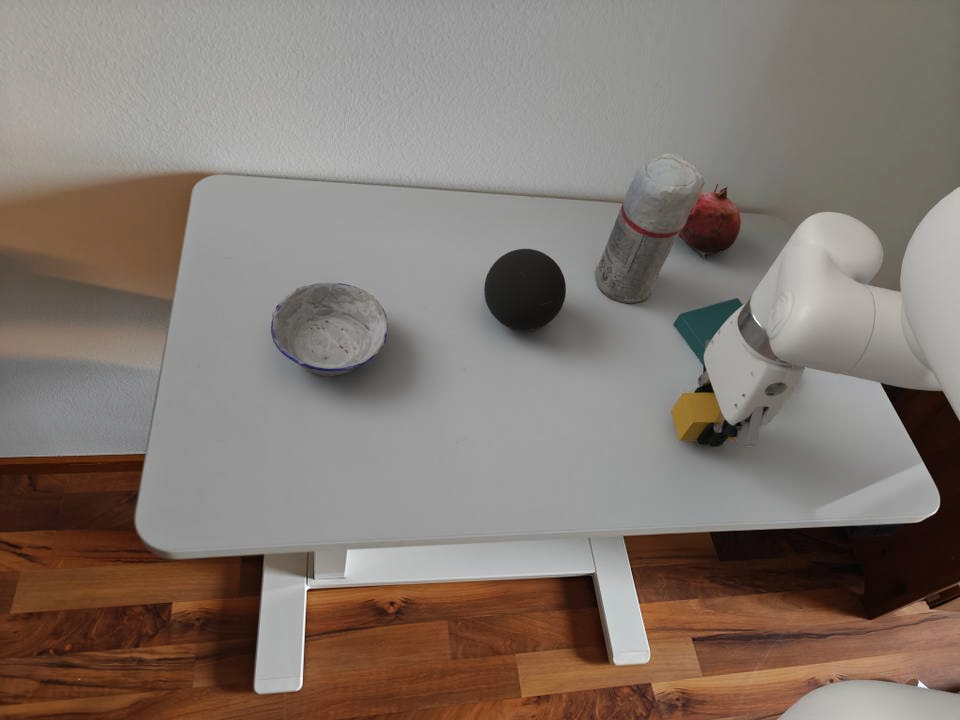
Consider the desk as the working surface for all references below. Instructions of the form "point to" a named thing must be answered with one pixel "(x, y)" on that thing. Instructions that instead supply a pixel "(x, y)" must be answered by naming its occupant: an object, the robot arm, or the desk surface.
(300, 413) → the desk surface
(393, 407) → the desk surface
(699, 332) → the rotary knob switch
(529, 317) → the speaker
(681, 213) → the spray can
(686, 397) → the sponge
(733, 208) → the fruit
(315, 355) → the bowl
